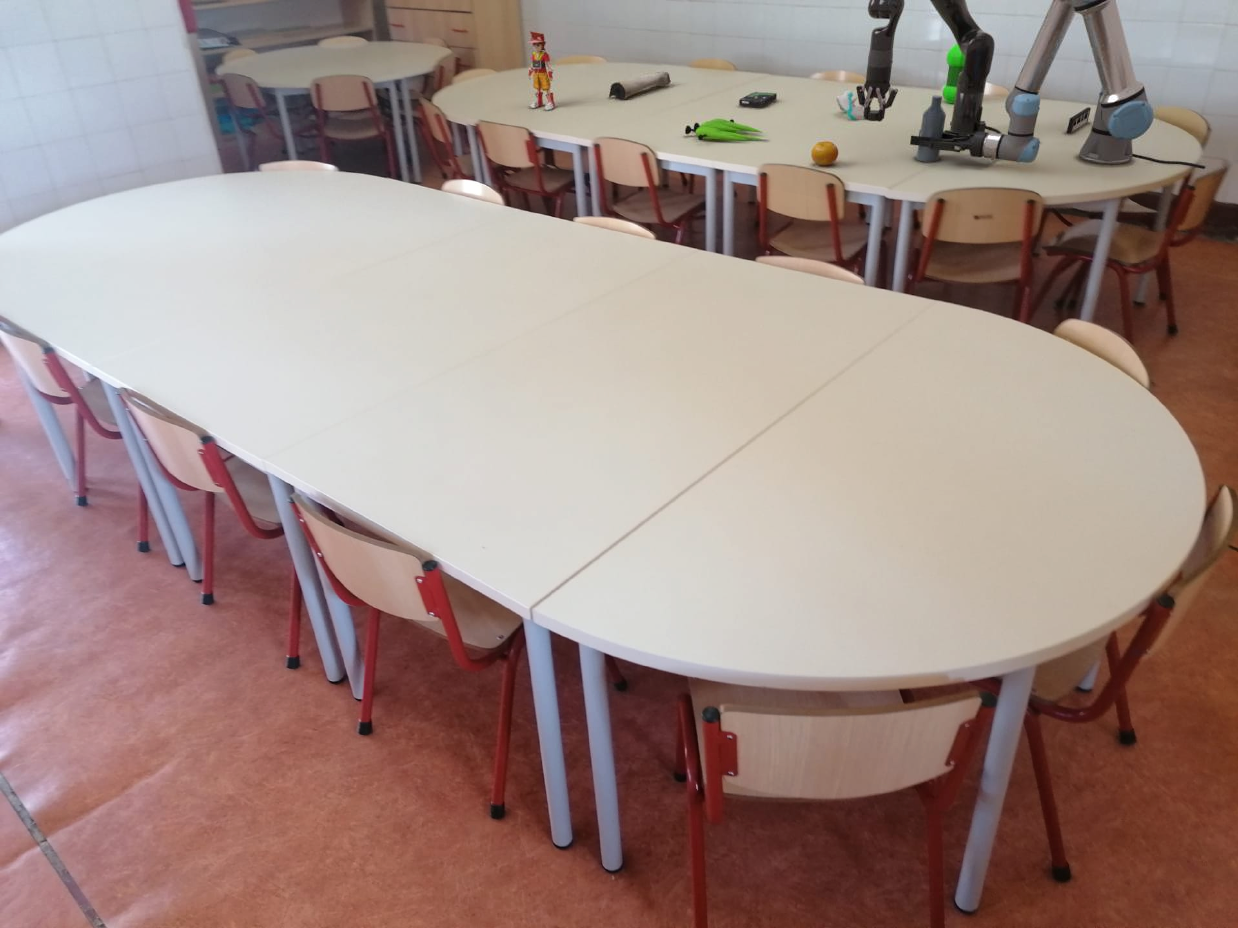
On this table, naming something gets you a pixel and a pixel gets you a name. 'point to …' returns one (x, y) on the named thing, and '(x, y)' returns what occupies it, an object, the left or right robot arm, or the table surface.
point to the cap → (872, 115)
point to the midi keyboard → (1078, 120)
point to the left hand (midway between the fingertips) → (873, 120)
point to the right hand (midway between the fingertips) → (915, 137)
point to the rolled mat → (638, 84)
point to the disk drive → (757, 99)
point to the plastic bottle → (953, 72)
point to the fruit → (824, 153)
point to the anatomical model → (850, 105)
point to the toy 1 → (541, 71)
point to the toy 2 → (721, 130)
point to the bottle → (931, 129)
